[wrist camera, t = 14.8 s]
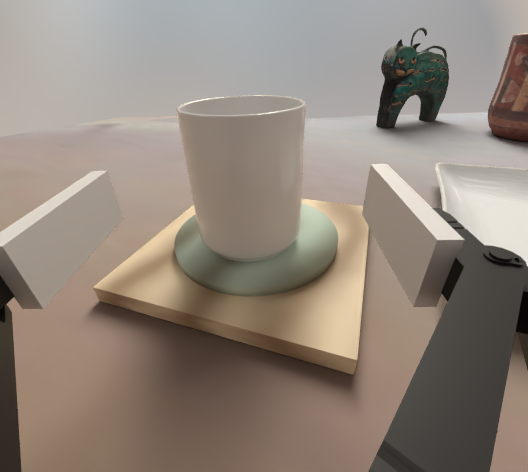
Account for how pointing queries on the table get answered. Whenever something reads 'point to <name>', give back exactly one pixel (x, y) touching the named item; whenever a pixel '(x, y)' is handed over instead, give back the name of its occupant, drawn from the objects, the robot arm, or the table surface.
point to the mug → (245, 172)
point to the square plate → (488, 203)
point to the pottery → (512, 94)
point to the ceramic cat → (412, 81)
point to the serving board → (257, 286)
